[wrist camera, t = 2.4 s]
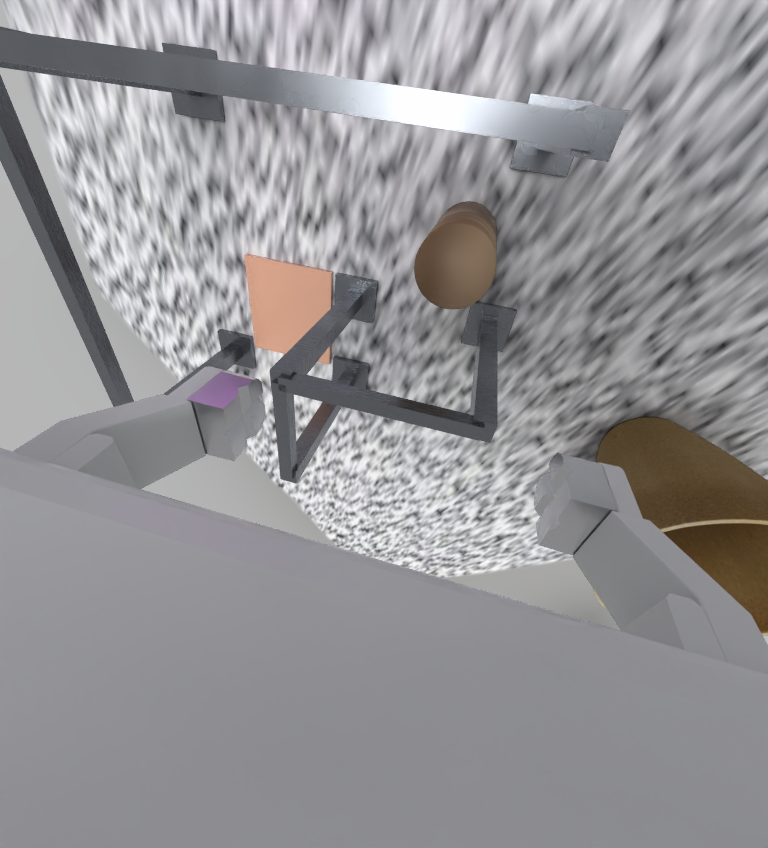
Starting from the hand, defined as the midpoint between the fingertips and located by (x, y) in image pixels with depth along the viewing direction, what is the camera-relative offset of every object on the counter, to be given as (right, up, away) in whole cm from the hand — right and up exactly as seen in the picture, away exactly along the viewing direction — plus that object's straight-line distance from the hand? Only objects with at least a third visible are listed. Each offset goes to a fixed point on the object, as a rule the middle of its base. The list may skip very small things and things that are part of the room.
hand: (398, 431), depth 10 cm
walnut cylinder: (+6, +16, +20) cm, 26 cm away
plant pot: (+27, -2, +28) cm, 39 cm away
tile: (-10, +12, +28) cm, 32 cm away
